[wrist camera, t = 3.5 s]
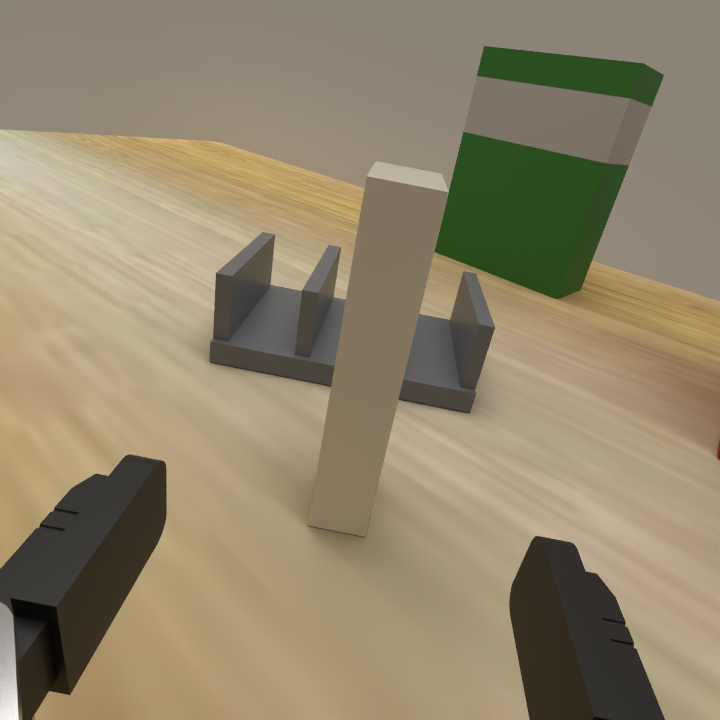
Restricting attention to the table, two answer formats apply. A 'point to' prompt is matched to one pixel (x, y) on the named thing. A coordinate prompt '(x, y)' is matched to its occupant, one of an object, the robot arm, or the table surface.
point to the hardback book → (543, 164)
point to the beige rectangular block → (375, 339)
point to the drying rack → (323, 326)
